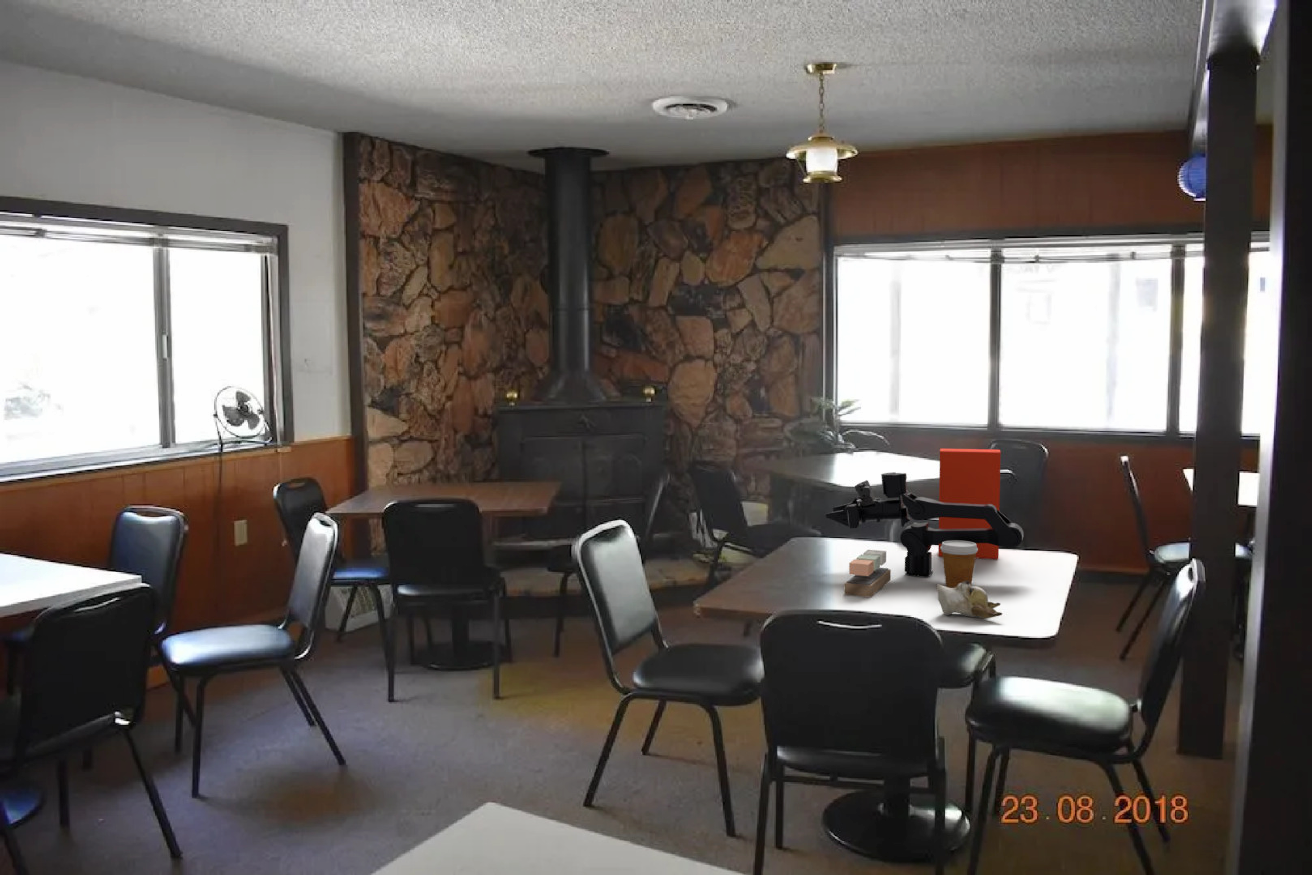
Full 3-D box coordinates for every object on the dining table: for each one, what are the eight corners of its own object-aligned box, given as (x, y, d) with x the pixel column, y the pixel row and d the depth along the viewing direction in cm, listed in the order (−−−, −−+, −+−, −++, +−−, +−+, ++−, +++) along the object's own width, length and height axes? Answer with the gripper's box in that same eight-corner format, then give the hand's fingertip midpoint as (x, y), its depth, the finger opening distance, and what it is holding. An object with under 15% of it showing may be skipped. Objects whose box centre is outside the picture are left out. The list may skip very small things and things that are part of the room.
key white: (886, 561, 292) (886, 551, 292) (881, 565, 288) (881, 554, 287) (868, 560, 294) (868, 549, 294) (863, 563, 290) (863, 553, 289)
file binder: (998, 559, 319) (1000, 452, 316) (938, 556, 324) (939, 451, 321) (997, 554, 327) (999, 449, 324) (938, 551, 332) (940, 448, 329)
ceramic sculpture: (937, 572, 262) (1002, 579, 258) (935, 607, 263) (999, 614, 259) (937, 583, 251) (1004, 590, 248) (934, 619, 252) (1001, 626, 249)
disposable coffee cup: (957, 594, 276) (958, 548, 275) (932, 587, 285) (932, 542, 284) (985, 590, 281) (986, 544, 280) (959, 582, 289) (960, 538, 288)
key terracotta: (873, 572, 279) (873, 560, 279) (868, 576, 275) (868, 564, 275) (854, 570, 282) (854, 559, 281) (849, 574, 277) (849, 562, 277)
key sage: (879, 566, 286) (880, 555, 285) (875, 570, 281) (875, 559, 281) (861, 565, 288) (861, 554, 288) (856, 569, 283) (856, 557, 283)
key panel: (890, 580, 293) (890, 568, 293) (871, 597, 274) (871, 584, 274) (865, 578, 296) (865, 565, 296) (844, 594, 277) (844, 581, 277)
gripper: (887, 476, 310) (834, 479, 316) (875, 487, 293) (819, 490, 299) (891, 514, 311) (837, 516, 317) (879, 527, 294) (823, 529, 300)
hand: (829, 512), depth 308 cm, fingers open, 9 cm apart
